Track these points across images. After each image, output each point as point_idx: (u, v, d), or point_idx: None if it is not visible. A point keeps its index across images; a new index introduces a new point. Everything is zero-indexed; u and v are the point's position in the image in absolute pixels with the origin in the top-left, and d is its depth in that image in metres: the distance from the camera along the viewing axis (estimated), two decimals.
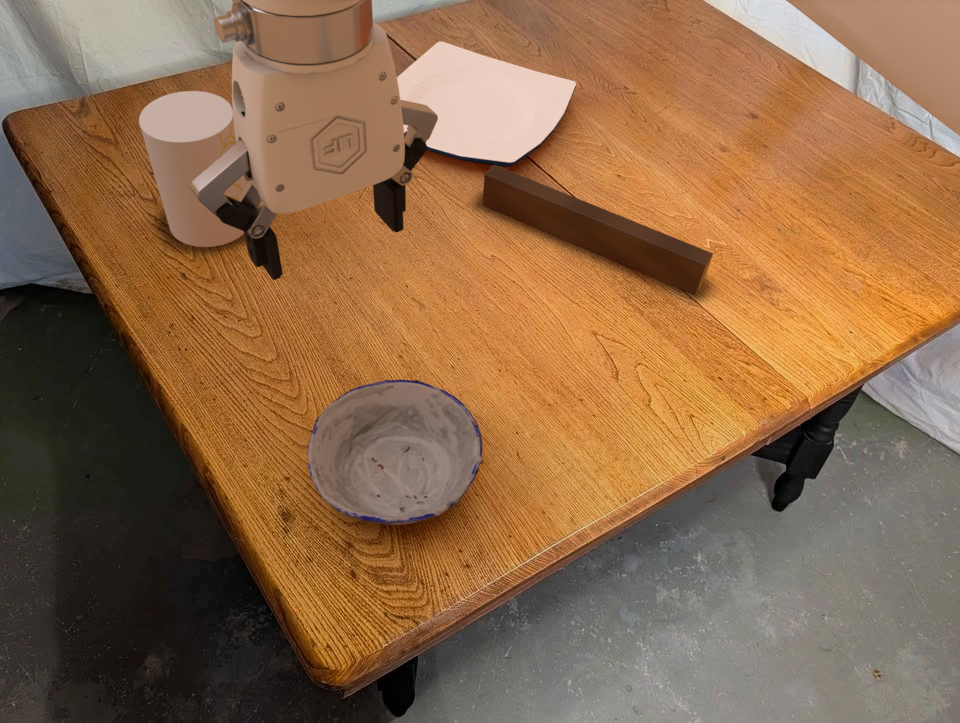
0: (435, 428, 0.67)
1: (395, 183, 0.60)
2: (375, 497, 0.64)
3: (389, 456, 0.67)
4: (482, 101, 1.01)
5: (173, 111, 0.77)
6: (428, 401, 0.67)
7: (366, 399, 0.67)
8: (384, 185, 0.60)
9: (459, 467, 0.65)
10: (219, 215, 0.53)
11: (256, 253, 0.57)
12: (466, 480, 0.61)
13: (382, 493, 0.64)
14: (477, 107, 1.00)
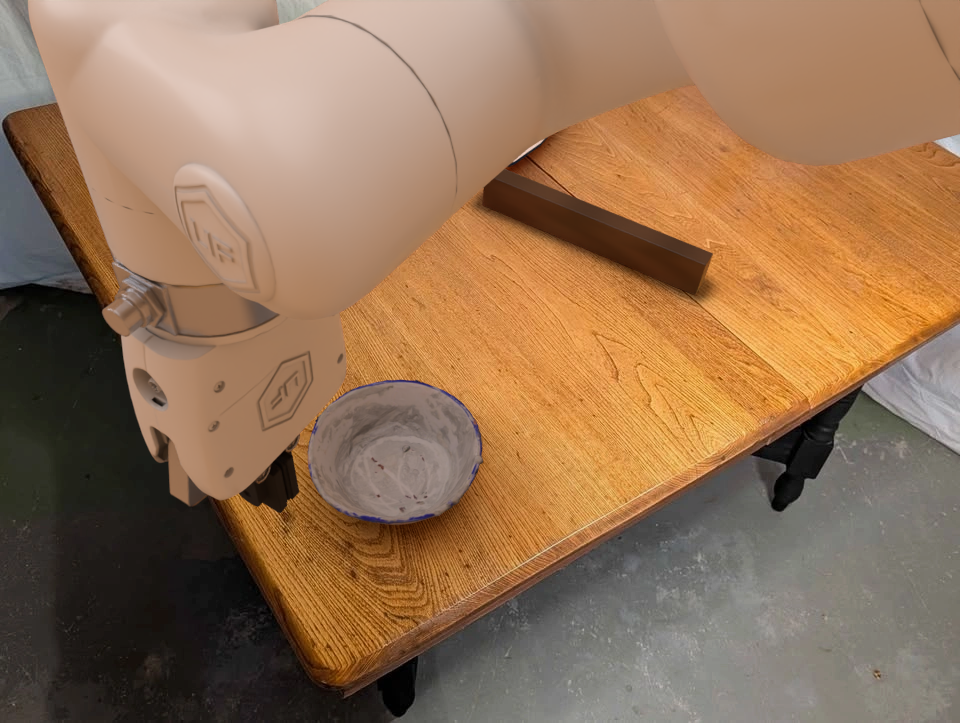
0: (435, 428, 0.67)
1: None
2: (375, 497, 0.64)
3: (389, 456, 0.67)
4: None
5: None
6: (428, 401, 0.67)
7: (366, 399, 0.67)
8: None
9: (459, 467, 0.65)
10: None
11: (258, 494, 0.46)
12: (466, 480, 0.61)
13: (382, 493, 0.64)
14: None
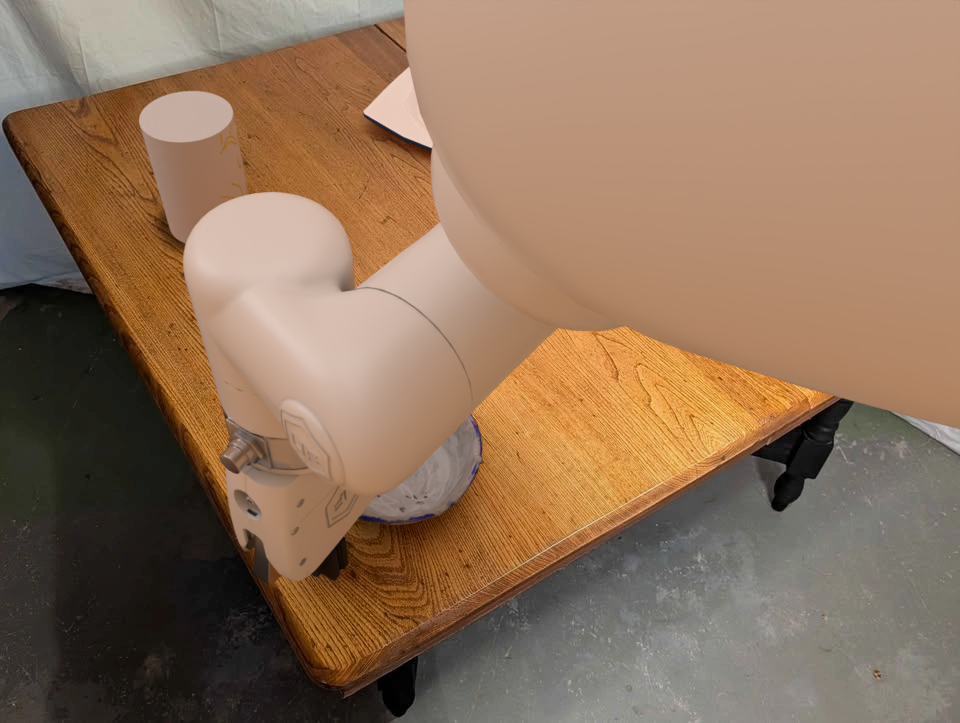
0: None
1: None
2: (375, 497, 0.64)
3: None
4: None
5: (173, 111, 0.77)
6: None
7: None
8: None
9: (459, 467, 0.65)
10: None
11: (317, 568, 0.57)
12: (466, 480, 0.61)
13: None
14: None
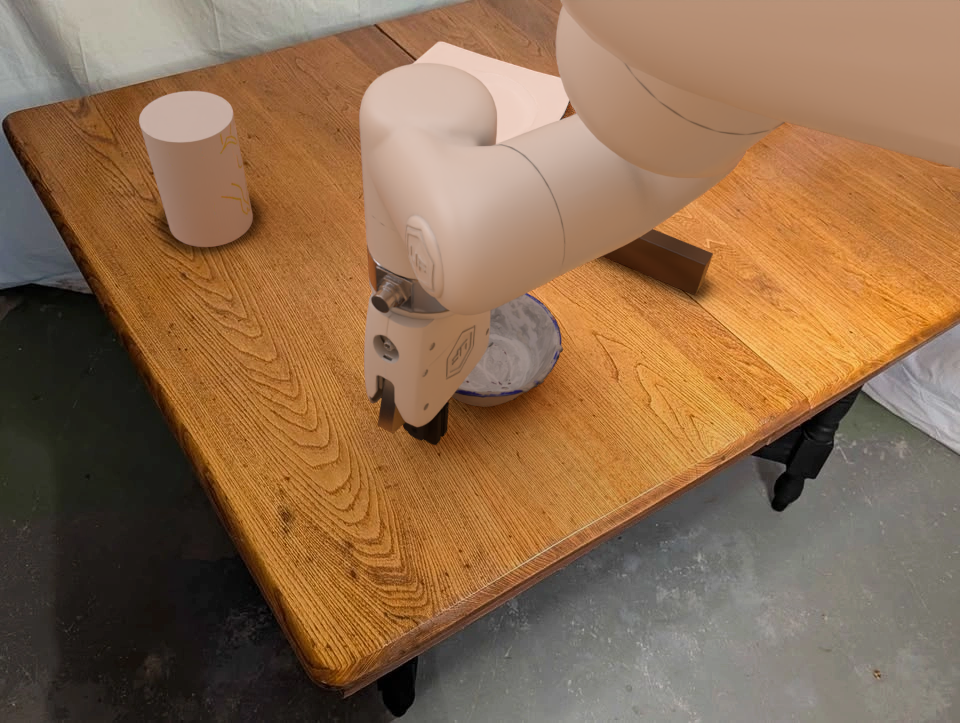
0: (516, 327, 0.75)
1: None
2: (465, 382, 0.72)
3: None
4: None
5: (173, 111, 0.77)
6: (510, 301, 0.75)
7: None
8: None
9: (539, 357, 0.72)
10: None
11: (424, 430, 0.65)
12: (549, 364, 0.69)
13: (471, 379, 0.72)
14: None
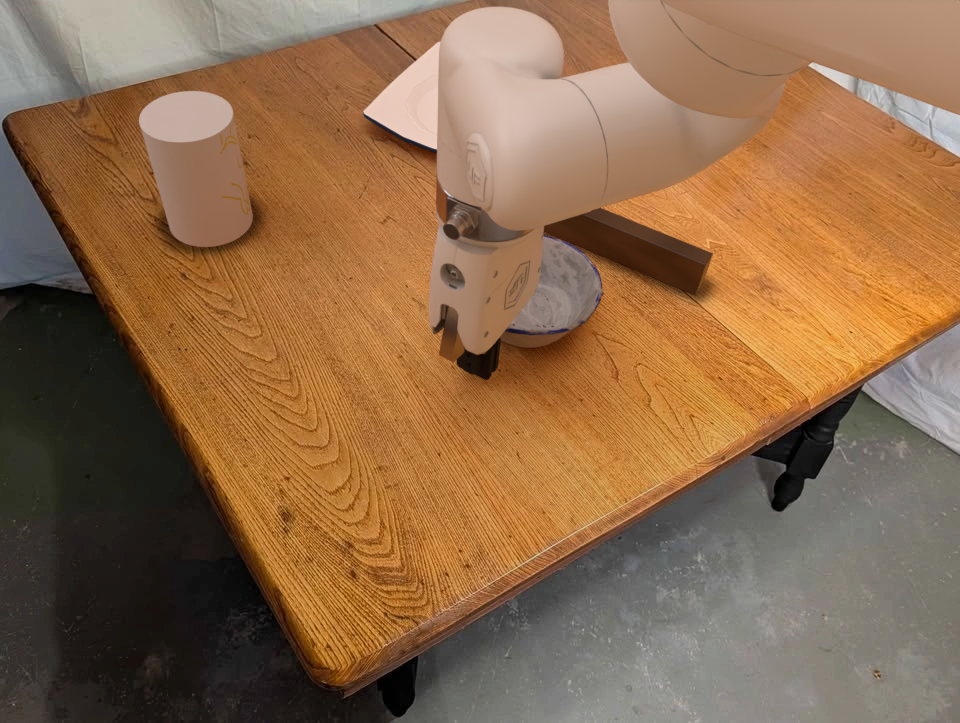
0: (557, 275, 0.80)
1: None
2: (511, 325, 0.76)
3: None
4: None
5: (173, 111, 0.77)
6: (551, 251, 0.79)
7: None
8: None
9: (580, 302, 0.77)
10: None
11: (478, 364, 0.70)
12: (591, 306, 0.74)
13: (516, 323, 0.77)
14: None
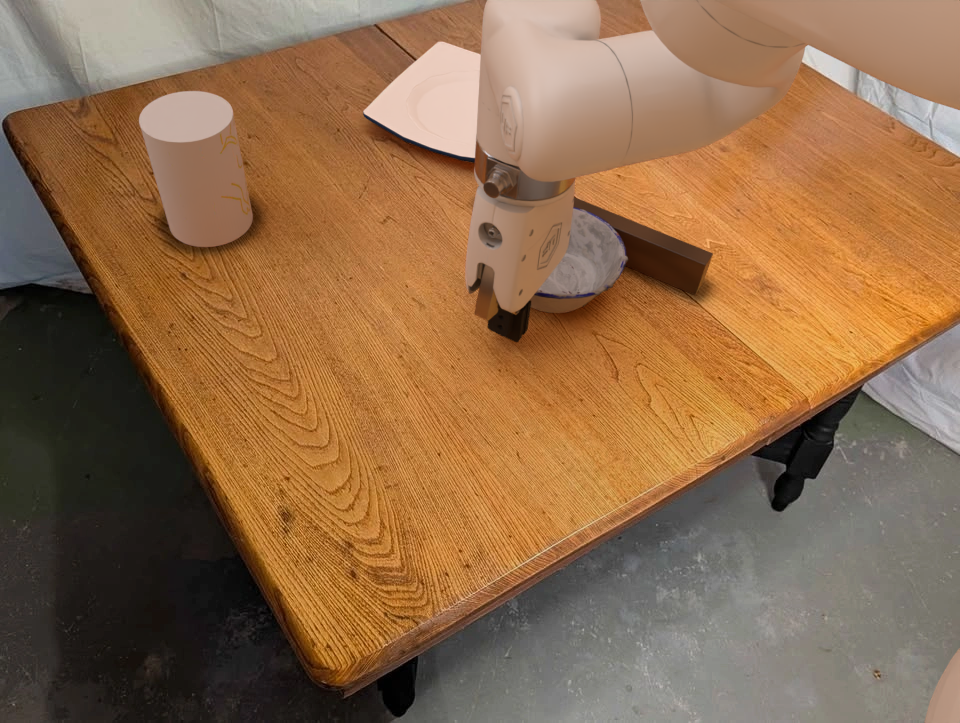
0: (581, 244, 0.83)
1: None
2: (538, 292, 0.79)
3: None
4: None
5: (173, 111, 0.77)
6: (576, 221, 0.82)
7: None
8: None
9: (605, 269, 0.80)
10: (500, 309, 0.69)
11: (509, 325, 0.73)
12: (616, 272, 0.77)
13: (543, 289, 0.80)
14: (477, 107, 1.00)
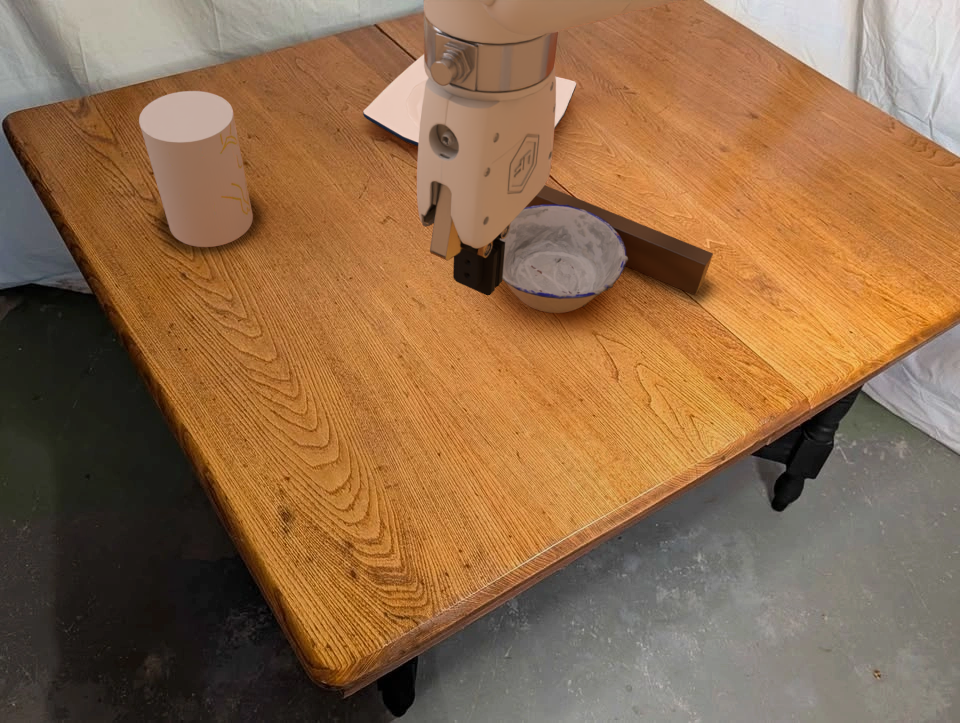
0: (581, 244, 0.83)
1: (495, 239, 0.59)
2: None
3: (544, 264, 0.82)
4: None
5: (173, 111, 0.77)
6: (576, 221, 0.82)
7: (526, 218, 0.82)
8: None
9: (605, 269, 0.80)
10: (464, 248, 0.55)
11: (478, 273, 0.59)
12: (616, 272, 0.77)
13: (543, 289, 0.80)
14: None
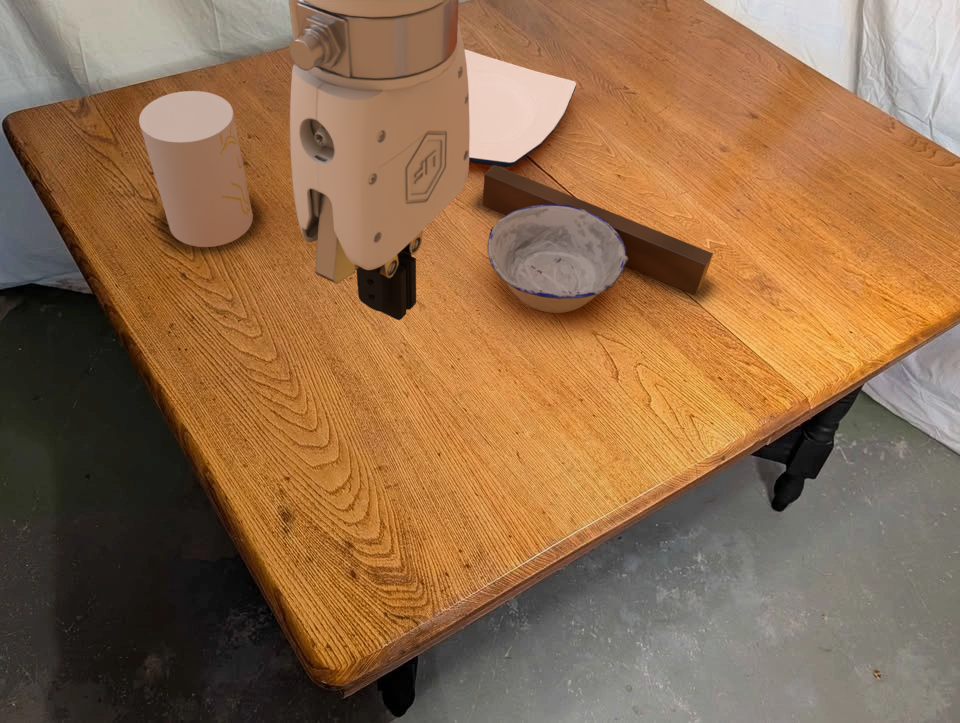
0: (581, 244, 0.83)
1: (404, 254, 0.49)
2: None
3: (544, 264, 0.82)
4: (482, 101, 1.01)
5: (173, 111, 0.77)
6: (576, 221, 0.82)
7: (526, 218, 0.82)
8: None
9: (605, 269, 0.80)
10: (360, 267, 0.46)
11: (383, 295, 0.49)
12: (616, 272, 0.77)
13: (543, 289, 0.80)
14: (477, 107, 1.00)
